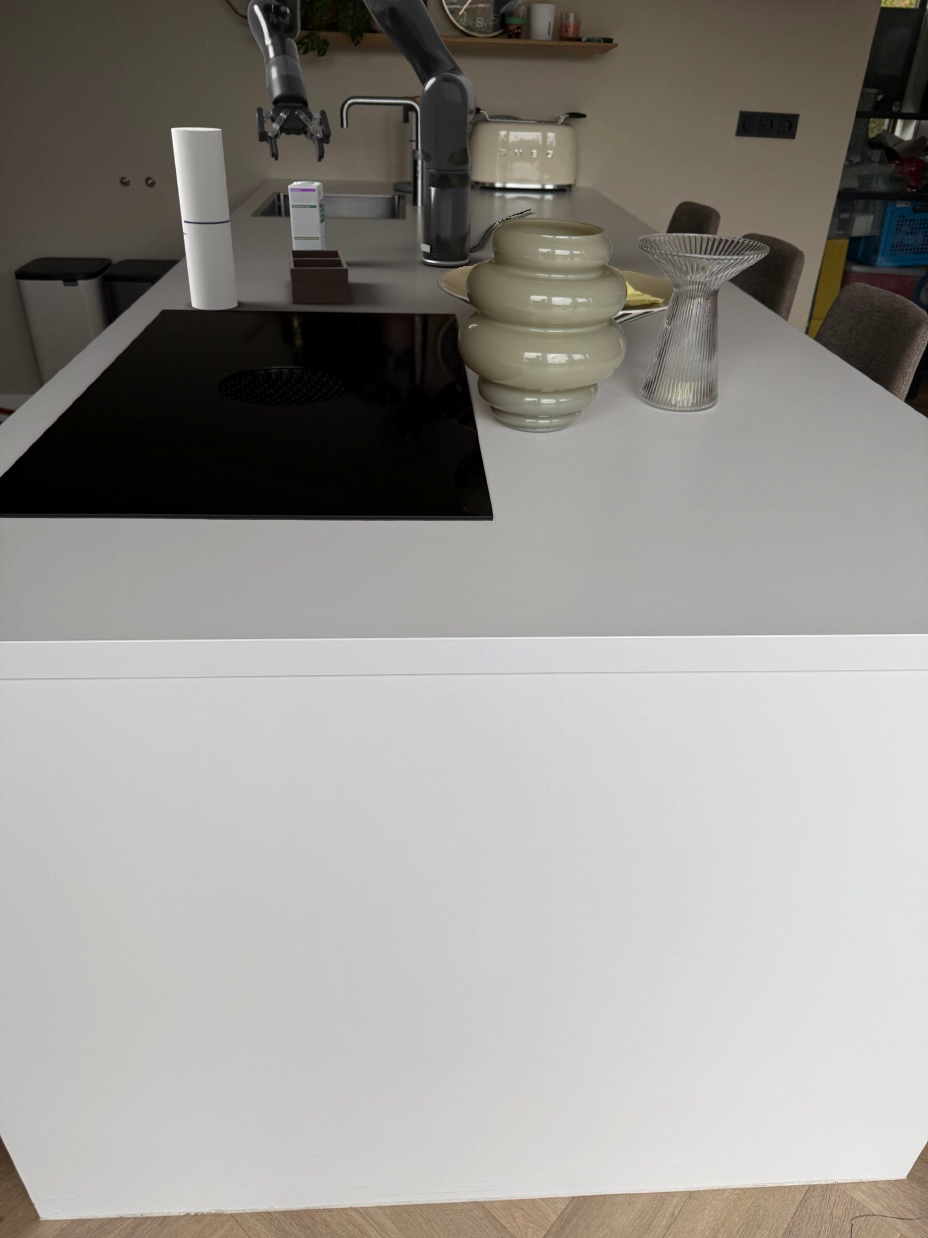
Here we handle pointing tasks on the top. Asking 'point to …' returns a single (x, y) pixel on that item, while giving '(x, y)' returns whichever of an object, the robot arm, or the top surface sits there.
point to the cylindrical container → (205, 217)
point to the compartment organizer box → (318, 276)
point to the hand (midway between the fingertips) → (298, 158)
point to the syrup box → (307, 215)
